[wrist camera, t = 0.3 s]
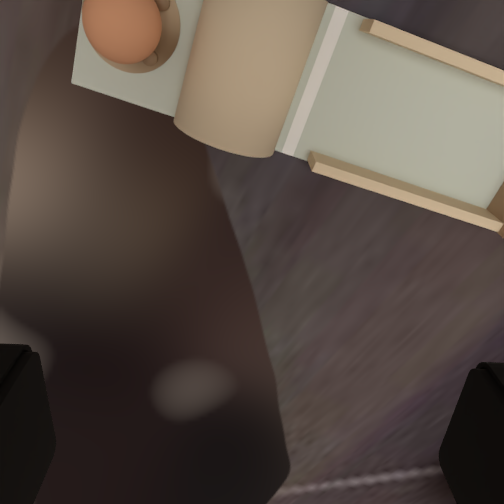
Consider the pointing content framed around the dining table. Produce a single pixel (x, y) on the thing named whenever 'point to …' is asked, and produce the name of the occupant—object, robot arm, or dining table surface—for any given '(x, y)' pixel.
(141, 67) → the tee
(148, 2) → the ball
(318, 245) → the dining table surface
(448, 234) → the dining table surface
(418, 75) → the lane
